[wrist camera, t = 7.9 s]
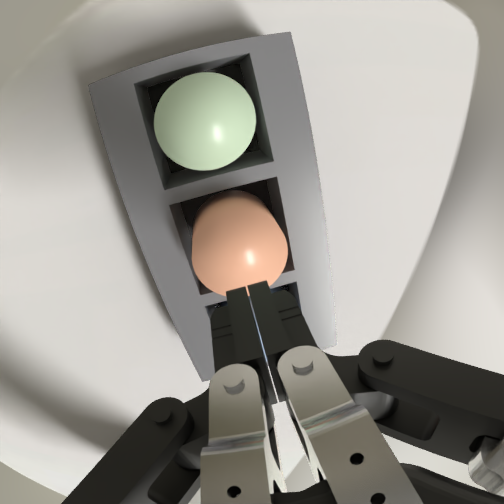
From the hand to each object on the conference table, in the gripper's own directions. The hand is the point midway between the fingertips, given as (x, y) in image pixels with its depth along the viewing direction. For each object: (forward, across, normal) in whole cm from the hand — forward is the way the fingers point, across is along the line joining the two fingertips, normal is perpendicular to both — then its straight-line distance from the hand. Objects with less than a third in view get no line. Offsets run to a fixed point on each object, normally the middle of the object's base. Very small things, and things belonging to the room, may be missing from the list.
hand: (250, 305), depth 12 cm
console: (+10, 0, 0) cm, 10 cm away
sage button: (+9, 0, -6) cm, 11 cm away
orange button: (+8, 0, 0) cm, 8 cm away
